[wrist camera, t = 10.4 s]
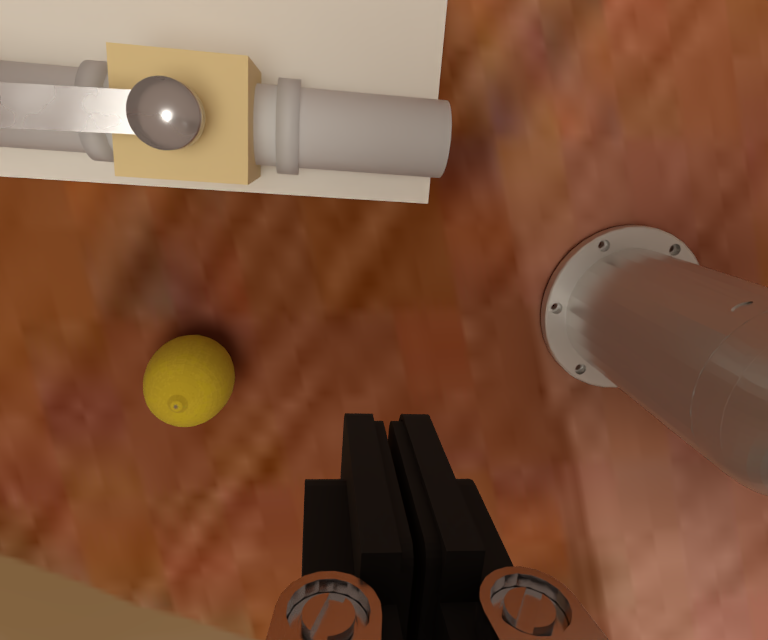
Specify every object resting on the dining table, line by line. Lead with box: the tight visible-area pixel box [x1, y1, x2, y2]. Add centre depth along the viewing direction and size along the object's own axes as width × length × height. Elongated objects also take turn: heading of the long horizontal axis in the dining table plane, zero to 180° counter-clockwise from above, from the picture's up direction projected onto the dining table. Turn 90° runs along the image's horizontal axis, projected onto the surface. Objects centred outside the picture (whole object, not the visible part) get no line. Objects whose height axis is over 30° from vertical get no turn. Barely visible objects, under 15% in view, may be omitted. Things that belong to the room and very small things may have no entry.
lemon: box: [143, 335, 235, 427], centre depth 36 cm, size 6×6×8 cm
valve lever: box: [0, 76, 205, 150], centre depth 24 cm, size 14×3×2 cm, turn 87°
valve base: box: [0, 0, 452, 204], centre depth 30 cm, size 28×12×10 cm, turn 86°
